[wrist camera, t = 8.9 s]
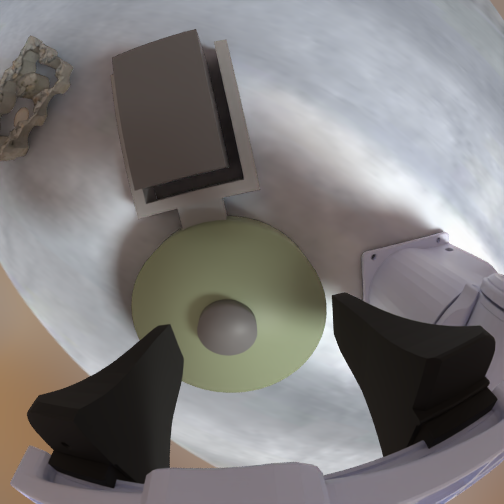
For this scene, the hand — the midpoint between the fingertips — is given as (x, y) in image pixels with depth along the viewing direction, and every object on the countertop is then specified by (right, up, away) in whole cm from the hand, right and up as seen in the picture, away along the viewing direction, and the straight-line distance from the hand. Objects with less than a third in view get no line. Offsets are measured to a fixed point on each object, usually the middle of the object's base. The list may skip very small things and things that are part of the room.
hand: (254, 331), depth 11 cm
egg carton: (-20, +17, +4) cm, 27 cm away
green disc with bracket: (-3, +5, +8) cm, 10 cm away
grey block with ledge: (-5, +13, +6) cm, 15 cm away
